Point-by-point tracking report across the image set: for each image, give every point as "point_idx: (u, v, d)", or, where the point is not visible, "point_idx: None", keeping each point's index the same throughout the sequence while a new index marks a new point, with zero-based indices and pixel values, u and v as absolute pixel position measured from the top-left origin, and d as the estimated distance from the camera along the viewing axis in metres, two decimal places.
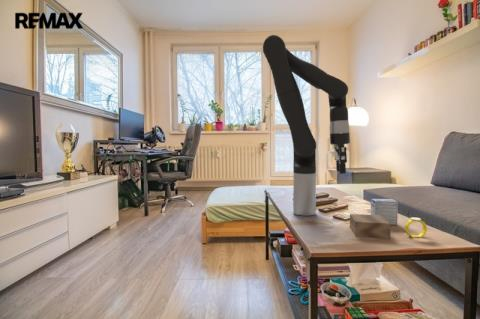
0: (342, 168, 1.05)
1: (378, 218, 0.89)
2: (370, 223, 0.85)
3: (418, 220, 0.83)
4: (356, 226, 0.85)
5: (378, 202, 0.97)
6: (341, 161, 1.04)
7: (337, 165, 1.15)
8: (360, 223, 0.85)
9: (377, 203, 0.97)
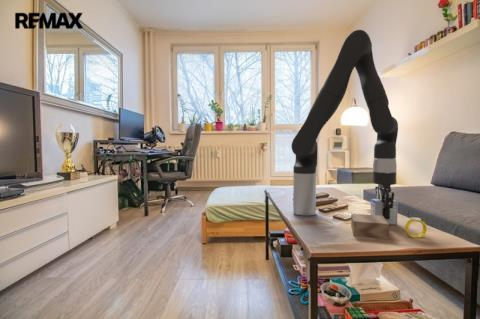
0: (386, 213, 0.96)
1: (378, 218, 0.89)
2: (368, 223, 0.85)
3: (418, 220, 0.83)
4: (354, 225, 0.86)
5: (378, 202, 0.97)
6: (386, 207, 0.94)
7: None
8: (358, 222, 0.86)
9: (377, 203, 0.97)
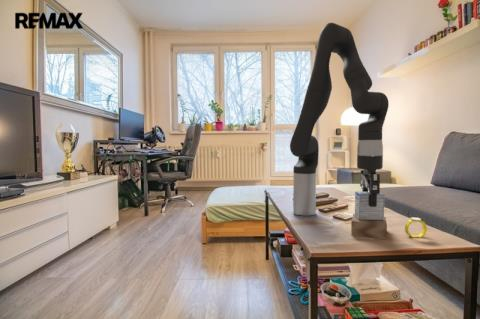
0: (372, 200, 0.84)
1: None
2: (366, 223, 0.85)
3: (418, 220, 0.83)
4: (352, 225, 0.87)
5: (362, 195, 0.87)
6: (372, 192, 0.82)
7: None
8: (355, 222, 0.86)
9: (361, 196, 0.87)
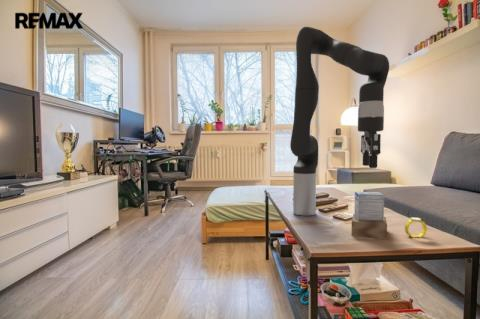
0: (373, 161, 0.83)
1: None
2: (366, 223, 0.85)
3: (418, 220, 0.83)
4: (352, 225, 0.87)
5: (362, 195, 0.87)
6: (373, 152, 0.81)
7: (364, 158, 0.92)
8: (356, 223, 0.86)
9: (361, 197, 0.87)
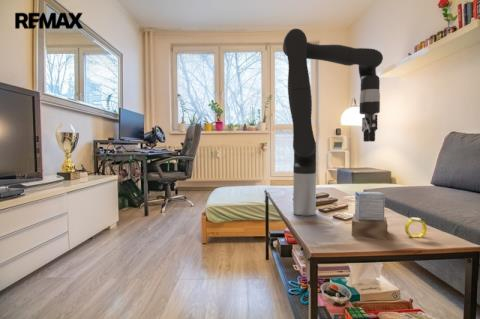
0: (372, 136, 1.07)
1: None
2: (366, 223, 0.85)
3: (418, 220, 0.83)
4: (352, 225, 0.86)
5: (362, 195, 0.87)
6: (371, 128, 1.05)
7: (364, 135, 1.16)
8: (356, 222, 0.86)
9: (361, 196, 0.87)
